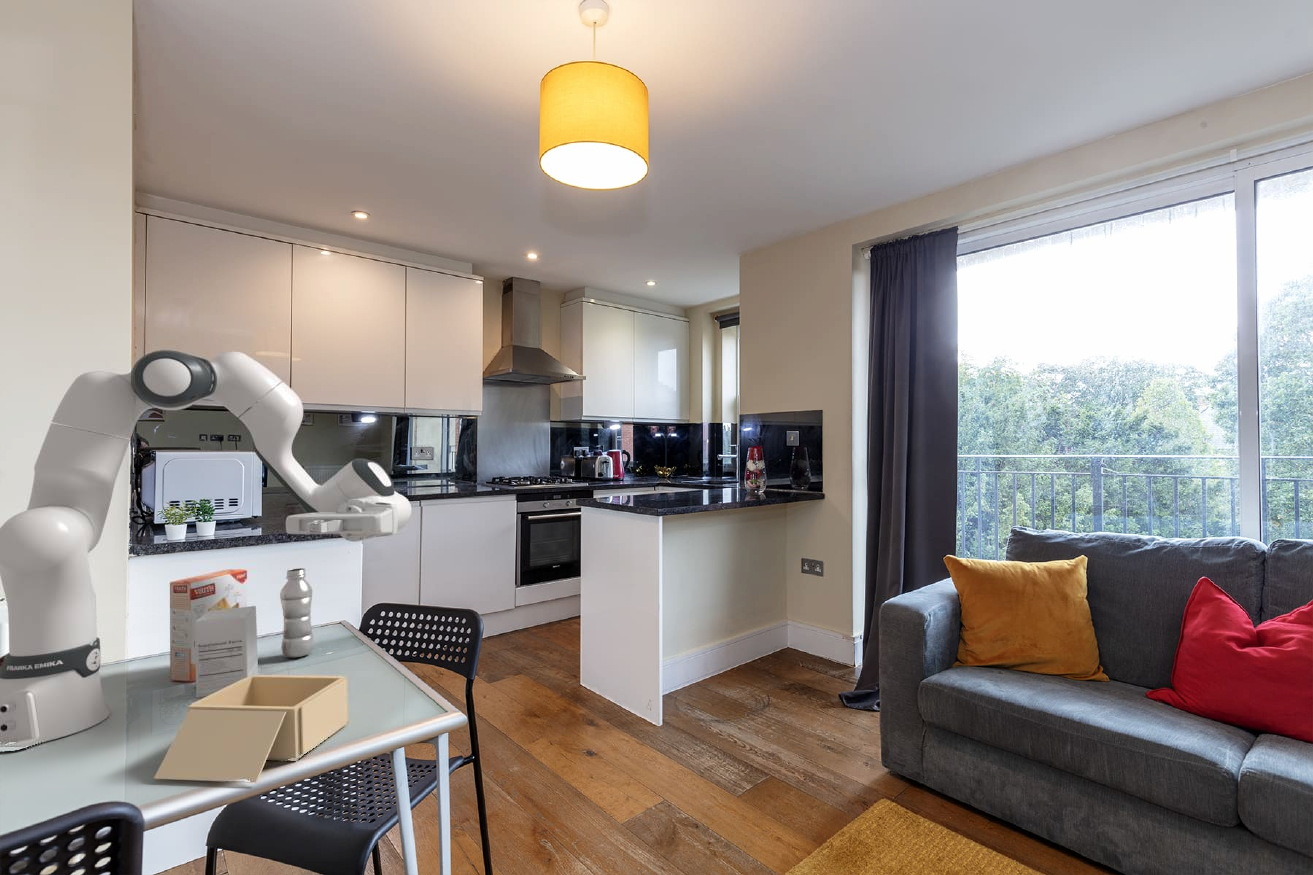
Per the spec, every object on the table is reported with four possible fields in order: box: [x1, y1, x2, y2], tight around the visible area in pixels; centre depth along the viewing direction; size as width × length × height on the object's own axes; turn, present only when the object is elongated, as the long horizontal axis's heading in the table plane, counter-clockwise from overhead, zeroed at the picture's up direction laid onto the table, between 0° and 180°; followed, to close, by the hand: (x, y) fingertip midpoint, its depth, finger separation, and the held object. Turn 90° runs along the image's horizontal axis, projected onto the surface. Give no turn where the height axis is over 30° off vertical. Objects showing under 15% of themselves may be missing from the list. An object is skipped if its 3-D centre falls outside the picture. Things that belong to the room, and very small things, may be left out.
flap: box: [153, 709, 286, 783], centre depth 91 cm, size 16×1×10 cm
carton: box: [187, 674, 349, 760], centre depth 101 cm, size 19×14×8 cm
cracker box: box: [169, 568, 248, 683], centre depth 135 cm, size 14×6×21 cm, turn 168°
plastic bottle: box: [279, 567, 315, 659], centre depth 142 cm, size 6×7×20 cm
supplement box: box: [194, 605, 259, 699], centre depth 125 cm, size 9×9×15 cm
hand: (314, 528), depth 115 cm, fingers closed
